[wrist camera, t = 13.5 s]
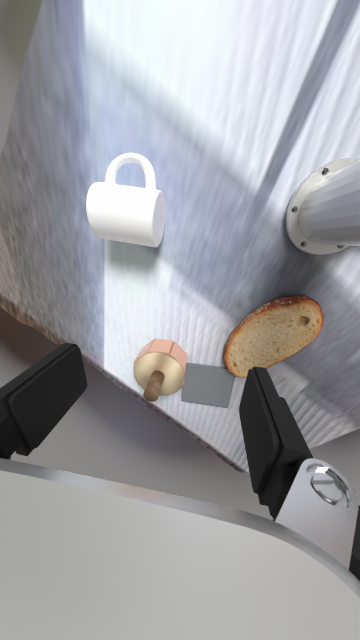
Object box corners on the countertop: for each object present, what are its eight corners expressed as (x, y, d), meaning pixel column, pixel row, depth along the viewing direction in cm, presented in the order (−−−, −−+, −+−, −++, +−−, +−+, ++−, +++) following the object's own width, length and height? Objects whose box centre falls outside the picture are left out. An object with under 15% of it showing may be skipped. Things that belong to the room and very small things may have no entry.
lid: (185, 355, 37) (181, 376, 31) (182, 395, 42) (178, 421, 36) (133, 348, 38) (120, 368, 32) (136, 388, 43) (124, 412, 37)
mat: (235, 368, 43) (235, 370, 42) (227, 406, 47) (227, 408, 47) (184, 362, 44) (184, 363, 43) (181, 399, 49) (181, 401, 48)
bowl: (188, 342, 42) (185, 355, 37) (185, 380, 46) (182, 396, 42) (141, 337, 43) (132, 348, 38) (142, 375, 47) (135, 389, 43)
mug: (162, 246, 34) (150, 248, 27) (112, 238, 35) (87, 238, 28) (170, 167, 29) (157, 143, 22) (111, 160, 30) (80, 134, 23)
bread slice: (223, 373, 43) (224, 384, 39) (223, 298, 36) (224, 303, 33) (307, 374, 40) (317, 386, 36) (323, 293, 33) (337, 298, 30)
